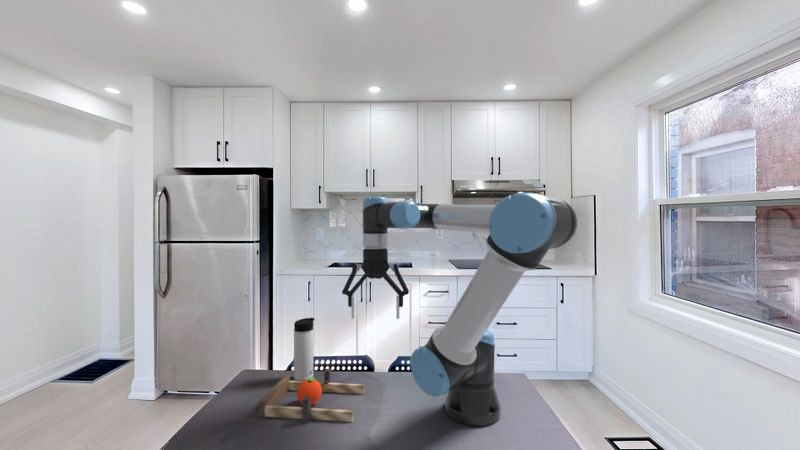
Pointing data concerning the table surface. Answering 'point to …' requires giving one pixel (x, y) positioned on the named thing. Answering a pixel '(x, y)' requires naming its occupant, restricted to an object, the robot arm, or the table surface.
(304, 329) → the travel mug
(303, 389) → the clementine
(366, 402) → the table surface
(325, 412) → the lane
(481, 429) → the table surface
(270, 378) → the table surface
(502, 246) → the robot arm
